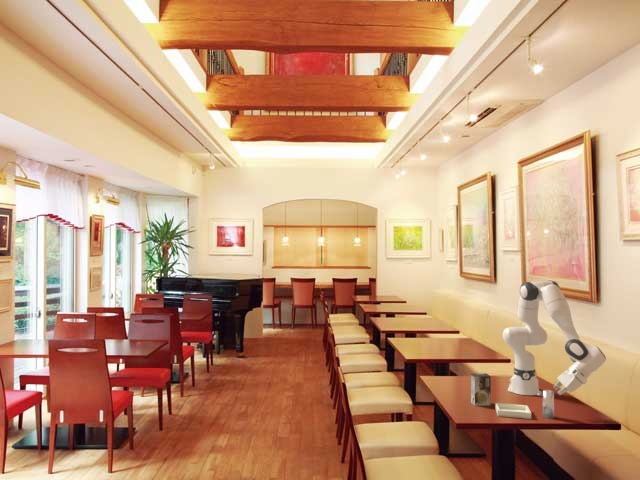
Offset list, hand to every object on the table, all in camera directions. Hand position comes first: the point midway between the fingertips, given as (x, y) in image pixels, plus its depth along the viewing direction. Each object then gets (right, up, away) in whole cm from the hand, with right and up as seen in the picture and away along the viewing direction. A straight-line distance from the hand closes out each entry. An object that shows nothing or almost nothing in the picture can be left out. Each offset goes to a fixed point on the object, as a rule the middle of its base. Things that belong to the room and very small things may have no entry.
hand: (556, 391), depth 256 cm
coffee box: (-32, -13, +21) cm, 40 cm away
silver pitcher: (-5, -13, +1) cm, 14 cm away
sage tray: (-20, -13, +5) cm, 25 cm away
